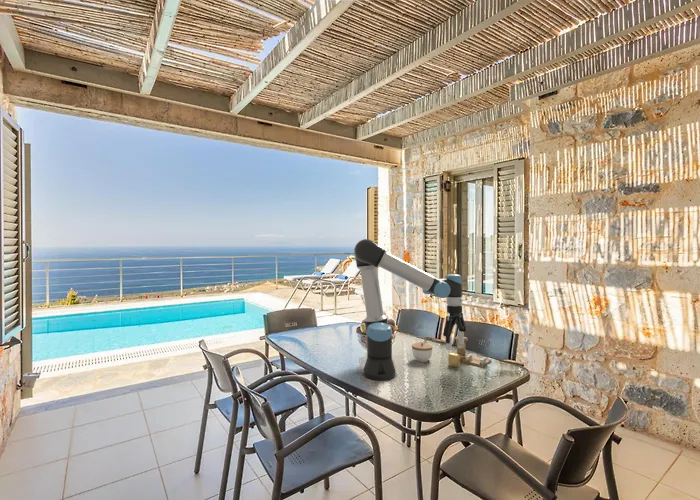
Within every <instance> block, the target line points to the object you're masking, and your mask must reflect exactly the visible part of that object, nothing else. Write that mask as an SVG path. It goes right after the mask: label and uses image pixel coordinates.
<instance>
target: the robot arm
mask: <svg viewBox="0 0 700 500" xmlns="http://www.w3.org/2000/svg"><path fill="white" fill-rule="evenodd" d="M354 246H355V247H354V249H353V250H354V257H355V264H356V268H357V269H358V270H359V271H360V278H361V279H360V280H361V285H362V292H363V293H362V294H363V299H364V305H365V313H366V317H365V318H364V327H365V335H366V347H367V348H366V351H367V352H366V355H367V356H366V361H365V365H364V367H363V376H364V377H365V378H367V379H370V380H374V381H387V380H392V379H393V378H396V376H397V375H396V374H397V373H396V369H395V365H394V361H393V330H392V329H393V328H392V327H391V325H390V324H389V322H388V316H387V315H385V314H384V309H383V301H382V295H381V288H380V287H381V286H380V280H379V273H378V268H382V269H384V270H385V271H388V272H389V273H391V274H393V275H395V276H397V277H399V278H401V279H403V280H405V281H407V282H409V283H411V284H413V285H415V286H416V287H418V288H420V289H422V292H423V294H428V295H433V296H435V297H437V298H439V299H445V298H446V304H447V305H446V313H448V314H449V315H446V316H445V324H444V328H443V333H442V336H443V337H445V350H449V351H452V350H453V347H452V345H453V344H452V343H453V341H452V333H453V330H454V327H455V325H456V327H457V329H458V331H457V333H458V336H457V337H458V344H464V337H465V332H466V331H467V330H466V329H467V326H466V323H465V320H464V313H463V306H462V305H463V281H462V280H463V279H462V276H461V275H460V274H456V273H455V274H446V276H445V278H437V277H435V276H433V275H431V274H430V273H427V272H425V271H424V270H422V269H419V268H418V267H416V266H414V265H412V264H410V263H408V262H406V261H404V260H402V259H400V258H398V257H396V256H394V255H392V254H391V253H389V252H388V250H387V249H386V248H384V247H382V246H380V245H379V244H377V243H376V242H375V241H373V240H372V239H367V238H364V239H361V240H359V241H358V242H357V243H356V245H354Z"/></svg>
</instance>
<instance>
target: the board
mask: <svg viewBox="0 0 700 500" xmlns="http://www.w3.org/2000/svg"><path fill="white" fill-rule="evenodd" d="M468 354H469V355H467V356H465V359H460V363H463V364H466V365H471V366H476V367H480V368H483V367H485V366H487V365H488V364H490V363H491V362H492V359H490V358H488V357H486V356H483V357H480V356H476V355H473V354H470V353H468Z"/></svg>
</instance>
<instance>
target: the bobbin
mask: <svg viewBox="0 0 700 500" xmlns="http://www.w3.org/2000/svg"><path fill="white" fill-rule="evenodd" d="M454 340H455V341H456V352H454V353H455V354H460V359H465V356H467V355H469V354H470V353H466V342H468V337H466V336H464V344H458V336H455V337H454Z"/></svg>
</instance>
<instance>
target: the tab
mask: <svg viewBox="0 0 700 500" xmlns="http://www.w3.org/2000/svg"><path fill="white" fill-rule="evenodd" d="M455 353H456V352H449V353H448V366H449V367H454V368H460V367H461V362H460V354H455Z"/></svg>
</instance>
